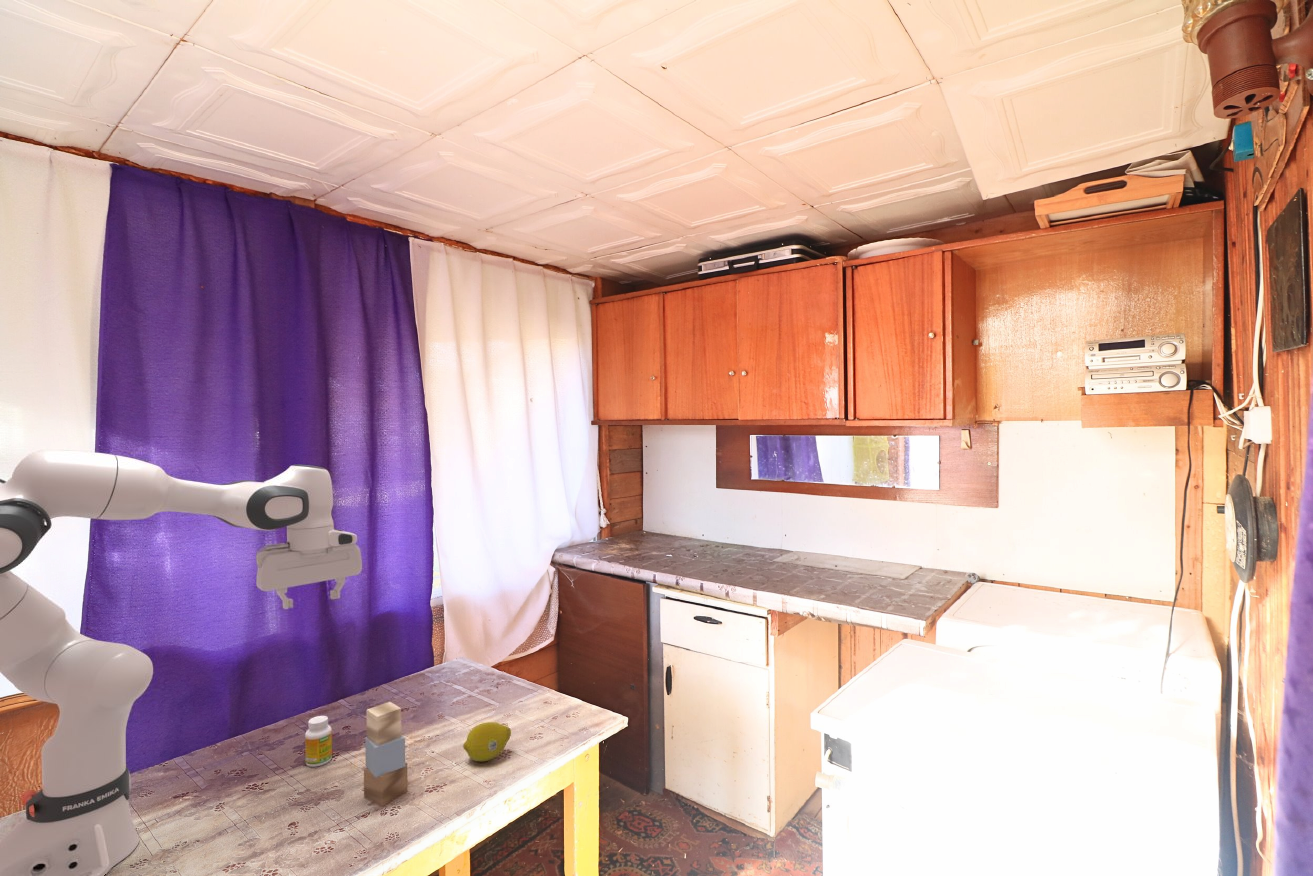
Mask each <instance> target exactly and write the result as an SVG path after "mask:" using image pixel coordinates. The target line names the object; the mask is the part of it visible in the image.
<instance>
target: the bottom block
mask: <svg viewBox="0 0 1313 876" xmlns="http://www.w3.org/2000/svg"><path fill="white" fill-rule="evenodd" d="M408 783H409V781H408V762H405V767H402V768H400V769H397V770H394V771H392V772H389V773H386V774H384V775H381V776H378V777H375V776H374V775H373V774H372V773H371V772H370V770H369V769H368V768H367V767H365V768H363V798H364V799H366V800H369V801H370V802H373V803H374V804H377V805H378V806H381V807H384V806H385V805H387V804H389V803H390V802H392V801H394V800H396V799H397V798H399V797H401V796H402V795H404V794H407V792H409V789H408V788H409V785H408Z"/></svg>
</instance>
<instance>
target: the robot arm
mask: <svg viewBox="0 0 1313 876" xmlns="http://www.w3.org/2000/svg"><path fill="white" fill-rule="evenodd" d="M333 506H334V492H333V482H332V478H331V474H330V472H329V471H328V469H326V468H325V467H322V466H318V465H317V466H316V465H309V464H307V465H306V464H293V465H290V466H289V467H288V468H287V469H286V470H285V471H283V472H281V473H279V474H278V475H276V476H274V477H273V478H270V479H268V480H264V481H263V482H262V481H261V482H259V481H255V480H251V479H249V480H248V479H244V480H243V479H242V480H238V481H237V480H236V481H232V482H229V483H223V484H216V483H214V484H213V483H206V482H201V481H193V480H186V479H180V478H176V477H173V476H171V475H169V474H167V473H166V472H165V470H164V469H163V468H162V467H160V466H159V465H156V464H153V463H151V462H146V461H144V460H140V459H137V458H133V457H132V458H131V457H127V456H124V455H116V454H112V453H102V452H97V451H96V452H95V451H94V452H93V451H83V450H68V449H67V450H63V449H61V450H59V449H53V450H52V449H47V450H45V449H44V450H37V451H35V452H32V453H29V454H28V455H27V456H25V457H24V458H22V460H20V462H19V463H18V464H17V465H16V467H15V468H14V470H13V472H12V475H11V477H9V479H8V480H7V481H6V480H5V479H3V478H0V673H1V675H2V676H3V677H4V678H6V679H7V680H8V681H9V682H10V683H11V684H13V686H14V687H15V688H16V689H17V690H18V691H19V692H21V693H23V694H24V695H26V696H28V697H30V698H31V699H34V700H36V701H40V702H44V703H50V704H56V705H57V707H58V710H59V716H58V719H57V724H56V728H55V729H54V730H55V731H54V733H53V734H52V735H51V736H50V737H49V738H48V739H47V740H45V742H44V743H43V745H42V748H41V754H40V755H41V785H42V786H41V788H40V790H39V791H38V792H37V791H36V790H34V789H29V790H26V791H25V792H23V793H22V794H21V796H20V801H21V802H20V803H21V805H23V806H24V807H25V818H23V819H22V820H21V821H20V822H18V823H17V825H15V826H14V827H13V828H12V829H10V830H9V831H8V832H7V833H6V834H4V835H3V836H2V837H1V838H0V876H104V875H105V874H106V875H107V874H108V873H109V872H110V871H111V870H112V869H113V867H114V866H116V865H117V864H119V863H120V862H122V861H123V860H124V859H126V858H127V857H128V856H129V855H131V854H132V852H133V851H134V850H135V849H136V848H137V847H138V844H139V842H140V836H139V834H138V832H137V829H136V827H135V824H134V822H133V818H132V813H131V810H130V802H129V799H130V793H131V773H130V768H129V767H128V765H127V764H126V763H127V762H126V761H127V759H126V757H127V755H126V752H127V751H126V749H127V748H126V744H127V743H126V742H127V741H126V740H127V735H126V734H127V733H126V732H127V725H128V722H129V721H128V720H129V717H130V713H131V711H132V707H133V705H134V703H135V701H136V700H137V699H139V698H140V697H141V696H142V695H143V694H144V693H145V691H146V690H147V689H148V687H149V686H150V683H151V682H152V679H153V675H154V666H153V661H152V660H151V658H150V657H149V656H148V655H147V654H145V653H144V652H142V651H140V650H138V649H136V648H135V647H133V646H130V645H128V644H124V643H118V642H113V641H103V640H97V639H95V638H94V639H93V638H91V637H89V636H86V635H84V634H81V633H80V632H78V631H77V630H76V629H75V628H74V627H73V626H72V624H70V622H69V621H68V620H67V618H66V612H65V610H64V609H63V608H61V607H60V606H59V605H57V604H56V603H55V602H54V601H52V600H51V599H49V598H48V597H46V596H45V594H43V593H41V592H40V591H38V590H37V589H36V588H34V587H33V586H32V585H30V583H29V584H28V582H26V581H24V580H23V579H22V578H20V577H19V576H18V575H16V573H13V572H12V570H13V569H15V568H16V567H17V566H19V565H20V564H22V563H23V562H24V561H25V560H27V558H28V557H29V556H30V555H31V554H32V552H33V551H34V549H35V548H36V546H37V545H38V543H39V542H40V541H41V540H42V538H43V537H44V536H45V535H46V534H47V533H48V531H49V530H51V528H52V524H53V523H52V519H54V518H55V519H56V518H60V517H61V518H62V517H72V518H75V517H76V518H84V519H94V520H105V521H108V520H109V521H130V520H131V521H132V520H144V519H145V520H146V519H147V518H150V517H152V516H153V515H155V514H157V513H161V512H162V513H163V512H176V513H177V512H178V513H184V514H185V513H187V514H195V515H205V516H210V517H214V518H216V519H217V520H219V521H221V522H223V523H225V524H227V525H228V526H232V527H235V528H242V529H243V528H248V529H251V530H252V529H253V530H258V531H265V532H267V531H274V530H278V529H282V528H285V527H286V542H281V543H276V544H266V545H264V546H263V547H261V548H260V549H258V551H257V552H256V554H255V564H256V566H257V571H256V581H255V583H256V587H257V588H258V589H259V590H261V591H262V592H271V591H276V592H275V593H276V594H277V596H278V597H279V598H280V599H281V601H282V608H283V609H284V610H288V609H293V608H294V599H292V598H289V597H288V596H287V595H286V594H287V592H288V588H294V587H297V586H299V587H300V586H304V585H309V584H315V583H321V582H326V581H332V580H334V581H335V583H336V584H335V586H334V588H333V589H332V590H329V594H330V595H329V598H330V600H336V599H337V600H338V599H341V590H342V589H343V587H344V585H345V583H346V578H348V577H353V576H358V575H359V574H360V573H361V572H362V570H363V561H362V560H363V559H362V553H361V548H360V547H359V546H358V545H357V541H358V536H357V534H356V533H353V532H351V531H344V530H342V529H335V527H334V524H335V523H334V520H333V517H332V509H333ZM45 523H46V524H45ZM106 875H105V876H106Z"/></svg>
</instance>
